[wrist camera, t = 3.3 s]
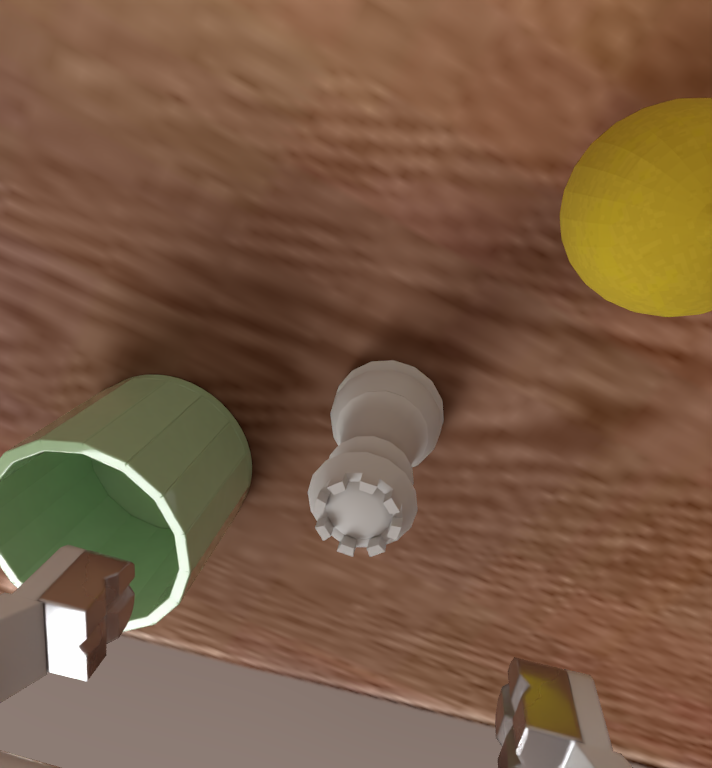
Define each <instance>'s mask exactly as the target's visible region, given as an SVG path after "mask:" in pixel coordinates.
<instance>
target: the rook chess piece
mask: <svg viewBox="0 0 712 768" xmlns="http://www.w3.org/2000/svg"><path fill="white" fill-rule="evenodd" d="M330 415H331V423H332V430H333V437H334V439H335V441H336V442H337V444H338V447H337V448H336V449H335V450H334V451H333V452H332V453H331V454H330V457H329V460H326V461H325V462H324V463H323V464H322V465H321V466H320V468H319V469H318V470H317V471H316V472H315V473H314V474H313V476H312V480H311V483H310V486H309V490H308V497H309V503H310V509H311V512H312V514H313V515H314V517H315V518H316V520H317V523H316V526H315V528H316V530H317V532H318V533H319V535H320V536H321V538H322V540H323V541H324V540H326V539H327V538H329V537H330V536H331V535H332V536H333V537H334V538H335V539H337V540H338V541H340V543H339V546H338V549H337V552H340V553H343V554H346V555H349V556H352V557H353V555H354V551H355V548H356V547H367V550H368V553H369V556H370V557H371V556H374V555H377V554H380V553H383V552H385V549H386V544H388V543H391V542H394V541H397V540H398V539H399V538H400V537H401V536H402V535H403V534H404V533H405V532H407V531H408V530H409V529H410V528H411V526H412V523H413V521H414V518H415V515H416V513H417V499H416V491H415V489H414V487H413V483H414V482H413V471H412V468H413V467H415V466H418V465H419V464H420V463H421V462H422V461H423V460H424V459H425V458H426V457H427V456H428V455H429V454H430V453H431V452H432V451H433V449H434V448H435V445H436V443H437V440H438V437H439V435H440V432H441V427H442V424H443V422H444V417H443V402H442V399H441V397H440V395H439V393H438V391H437V389H436V387H435V386H434V384H433V382H432V381H431V380H430V379H429V378H427V377H426V376H425V375H424V374H423V373H421V372H420V371H419V370H418V369H417V368H415V367H413V366H410V365H407V364H403V363H400V362H397V361H394V360H389V361H372V362H369V363H367V364H365V365H363V366H361V367H359V368H357V369H355V370H353V371H351V372H350V374H349V375H348V376H347V377H346V378H345V379H344V381H343V382H342V383H341V384H340V385H339V387H338V390H337V394H336V396H335V400H334V403H333V407H332V410H331V413H330Z"/></svg>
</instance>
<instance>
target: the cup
mask: <svg viewBox="0 0 712 768" xmlns="http://www.w3.org/2000/svg"><path fill="white" fill-rule="evenodd" d="M251 477H252V460H251V453H250V449H249V446H248V442H247V440H246V437H245V435H244V433H243V431H242V429H241V427H240V426H239V424H238V422H237V421H236V419H235V418H234V417H233V415H232V414H231V413H230V411H229V410H228V409H227V408H226V407H225V406H224V405H223V404H222V403H221V402H220V401H219V400H217V399H216V398H215V397H214V396H213V395H211V394H210V393H208V392H207V391H205V390H204V389H202V388H200V387H198V386H196V385H195V384H193V383H190V382H188V381H185V380H182V379H179V378H175V377H171V376H166V375H141V376H135V377H131V378H128V379H125V380H123V381H121V382H119V383H117V384H115V385H114V386H112V387H109V388H107V389H105V390H103V391H101V392H100V393H98V394H97V395H95V396H93V397H92V398H90V399H89V400H87V401H85V402H84V403H82V404H81V405H79V406H78V407H76V408H74V409H73V410H71V411H70V412H68V413H66V414H65V415H63V416H62V417H60V418H59V419H57V420H55V421H54V422H52V423H51V424H49V425H47V426H46V427H44V428H43V429H41V430H39V431H38V432H36V433H35V434H33V435H32V436H30V437H28V438H27V439H25V440H24V441H22V442H20V443H19V444H17V445H16V446H14V447H12V448H11V449H9V450H8V451H6V452H5V453H4V454H3V455H2V456H1V458H0V567H1V568H2V570H3V571H4V573H5V574H6V575H7V577H8V578H9V580H10V581H11V583H13V585H14V586H16V587H17V588H19V587H20V586H21V585H22V584H23V583H24V582H25V581H26V580H27V579H28V578H29V577H30V576H31V575H32V574H33V573H34V572H35V571H36V570H37V569H39V568H40V567H41V566H42V565H43V564H44V563H45V562H46V561H47V560H48V559H49V558H50V557H51V556H52V555H53V554H54V553H55V552H56V551H57V550H58V549H59V548H61V547H63V546H66V545H71V546H75V547H78V548H82V549H85V550H91V551H95V552H98V553H102V554H105V555H109V556H113V557H116V558H120V559H123V560H127V561H131V562H132V563H133V564H135V577H134V579H133V580H132V581H131V583H130V584H129V585H130V587H131V588H132V590H133V591H134V593H135V599H134V606H133V611H132V614H131V617H130V619H129V621H128V624H127V626H126V628H125V629H124V631H123V632H125V631H129V630H134V629H138V628H142V627H146V626H151V625H154V624H156V623H157V622H158V621H160V620H161V619H162V618H163V617H164V616H166V615H167V614H168V613H169V612H170V611H172V610H173V609H174V608H175V607H176V606H178V605H179V604H180V602H181V601H182V599H183V598H184V596H185V595H186V593H187V591H188V590H189V588H190V587H191V585H192V584H193V582H194V581H195V579H196V577H197V576H198V574H199V573H200V571H201V570H202V568H203V566H204V565H205V563H206V562H207V560H208V559H209V557H210V556H211V554H212V552H213V551H214V549H215V548H216V546H217V545H218V543H219V542H220V540H221V538H222V537H223V535H224V534H225V532H226V531H227V529H228V527H229V526H230V524H231V523H232V521H233V520H234V518H235V517H236V515H237V513H238V512H239V510H240V507H241V504H242V503H243V501H244V499H245V497H246V495H247V493H248V491H249V487H250V484H251Z"/></svg>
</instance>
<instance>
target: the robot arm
mask: <svg viewBox="0 0 712 768" xmlns="http://www.w3.org/2000/svg"><path fill="white" fill-rule="evenodd" d="M134 577H135V564H133V563H132V562H131V561H127V560H123V559H120V558H116V557H113V556H109V555H105V554H102V553H98V552H95V551H91V550H85V549H82V548H78V547H75V546H71V545H66V546H63V547H61V548H59V549H58V550H57V551H56V552H55V553H54V554H53V555H52V556H51V557H50V558H49V559H48V560H47V561H46V562H45V563H44V564H43V565H42V566H41V567H40V568H39V569H37V570H36V571H35V572H34V573H33V574H32V575H31V576H30V577H29V578H28V579H27V580H26V581H25V582H24V583H23V584H22V585H21V586H20V587H19V588H18V589H17V590H16V591H14V592H13V593H12V594H9V593H3V594H0V703H1V702H3V701H4V700H6V699H8V698H9V697H11V696H13V695H14V694H16V693H17V692H19V691H21V690H22V689H24V688H26V687H27V686H29V685H30V684H32V683H34V682H35V681H37V680H39V679H40V678H42V677H43V676H45V675H46V674H47V672H50V673H54V674H58V675H63V676H67V677H71V678H75V679H79V680H83V681H88V679H89V678H90V677H91V675H92V674H93V673H94V671H95V670H96V668H97V667H98V666H99V664H100V663H101V662H102V660H103V659H104V658H105V656H106V644H108V643H110V642H112V641H114V640H116V639H117V638H119V637H120V635H121V634H122V632H123V631H124V629H125V628H126V626H127V624H128V621H129V619H130V617H131V614H132V611H133V606H134V599H135V593H134V591H133V590H132V588H131V587H130V585H129V584H130V583H131V581H132V580H133V579H134ZM508 680H509V683H508V684H506V685H505V686H503V687H502V689H501V692H500V695H499V698H498V703H497V709H496V722H495V727H496V738H497V740H498V741H499V743H500V744H501V746H502V749H501V752H500V755H499V757H498V768H633V767H632V766H631V765H630V763H629V762H628V761H627V760H626V759H625V758H624V756H623V755H622V754H621V753H617V752H613V748H612V745H611V741H610V738H609V734H608V730H607V727H606V723H605V719H604V716H603V712H602V709H601V705H600V701H599V698H598V694H597V690H596V687H595V683H594V680H593V679H592V677H591V676H590V675H587V674H583V673H578V672H574V671H570V670H566V669H564V670H563V669H561V668H557V667H553V666H548V665H544V664H540V663H536V662H532V661H528V660H524V659H519V658H515V657H514V659H513V660H512V661H511V663H510V666H509V669H508ZM0 768H60V767H57V766H53V765H50V764H47V763H43V762H40V761H36V760H33V759H29V758H25V757H22V756H19V755H15V754H12V753H8V752H5V751H2V750H0Z"/></svg>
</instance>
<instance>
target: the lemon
mask: <svg viewBox="0 0 712 768" xmlns="http://www.w3.org/2000/svg"><path fill="white" fill-rule="evenodd" d="M560 227H561V239H562V242H563V245H564V248H565V250H566V253H567V256H568V259H569V262H570V263H571V265H572V266H573V268H574V269H575V271H576V272H577V273H578V275H579V276H580V278H581V279H582V280H583V282H584V283H585V284H586V285H587V286H589V287H590V288H591V289H593V290H594V291H595V292H596V293H598V294H599V295H600V296H601V297H603V298H604V299H605V300H607V301H609V302H612V303H614V304H616V305H619V306H621V307H623V308H626V309H628V310H630V311H633V312H637V313H644V314H650V315H656V316H663V317H674V316H687V315H698V314H703V313H706V312H710V311H712V98H680V99H674V100H671V101H667V102H663V103H660V104H656V105H653V106H649V107H645V108H643V109H641V110H639V111H637V112H635V113H633V114H632V115H630V116H628V117H626V118H624V119H622V120H620V121H619V122H617V123H615V124H614V125H613V126H611V127H610V128H609V129H608V130H607V131H606V132H604V133H603V134H602V135H601V136H600V137H599V138H598V139H596V140H595V141H594V142H593V143H592V144H591V145H590V146H589V148H588V149H587V150H586V152H585V153H584V154H583V156H582V157H581V159H580V160H579V161H578V163H577V164H576V165H575V167H574V169H573V171H572V174H571V176H570V178H569V180H568V183H567V185H566V187H565V189H564V194H563V199H562V204H561V210H560Z"/></svg>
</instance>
